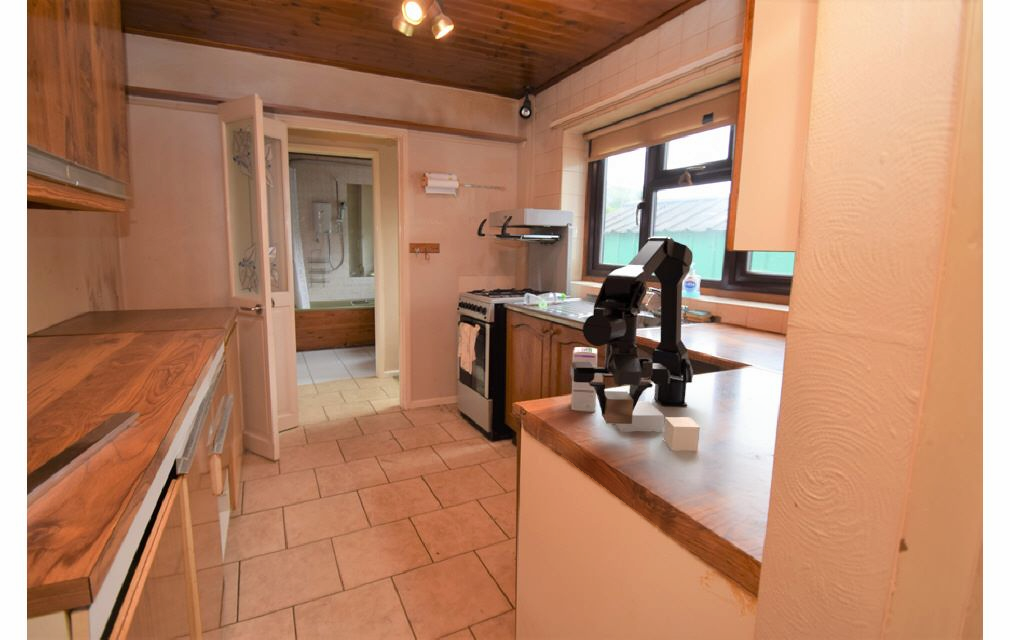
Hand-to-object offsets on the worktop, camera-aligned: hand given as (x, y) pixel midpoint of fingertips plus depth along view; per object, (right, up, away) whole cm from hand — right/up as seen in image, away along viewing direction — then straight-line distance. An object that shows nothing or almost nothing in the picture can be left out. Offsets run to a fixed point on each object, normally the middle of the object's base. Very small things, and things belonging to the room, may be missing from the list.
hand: (616, 413), depth 94 cm
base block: (+7, -5, +10) cm, 13 cm away
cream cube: (+12, -6, -1) cm, 14 cm away
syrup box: (-3, -3, +20) cm, 20 cm away
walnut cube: (0, -1, 0) cm, 1 cm away
